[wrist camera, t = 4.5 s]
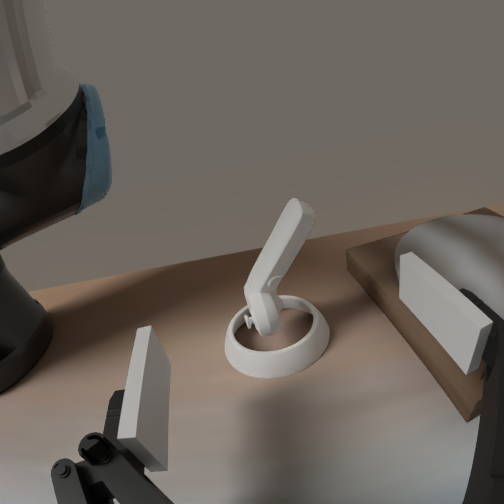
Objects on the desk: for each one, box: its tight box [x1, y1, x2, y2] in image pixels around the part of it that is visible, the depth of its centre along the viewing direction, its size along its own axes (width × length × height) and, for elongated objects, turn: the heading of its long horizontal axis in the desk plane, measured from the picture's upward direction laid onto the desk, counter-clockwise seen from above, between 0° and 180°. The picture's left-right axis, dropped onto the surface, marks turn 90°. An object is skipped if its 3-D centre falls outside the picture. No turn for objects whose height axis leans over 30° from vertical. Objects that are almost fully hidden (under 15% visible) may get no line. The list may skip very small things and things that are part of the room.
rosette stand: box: [346, 207, 504, 422], centre depth 20 cm, size 18×18×3 cm
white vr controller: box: [225, 198, 330, 379], centre depth 21 cm, size 8×12×7 cm
